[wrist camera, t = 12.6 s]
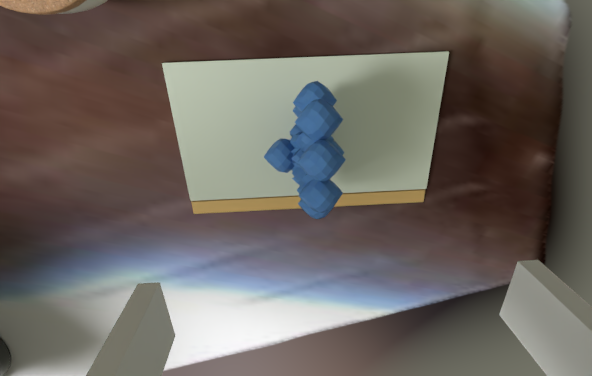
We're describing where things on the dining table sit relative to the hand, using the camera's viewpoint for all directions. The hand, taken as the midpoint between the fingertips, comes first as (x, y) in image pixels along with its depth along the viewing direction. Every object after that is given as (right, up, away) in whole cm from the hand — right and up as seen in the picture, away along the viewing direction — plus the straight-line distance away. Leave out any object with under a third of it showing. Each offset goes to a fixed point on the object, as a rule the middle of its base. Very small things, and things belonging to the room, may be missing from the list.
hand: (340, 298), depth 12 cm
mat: (0, +10, +20) cm, 22 cm away
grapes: (-1, +10, +20) cm, 22 cm away
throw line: (0, +3, +24) cm, 24 cm away
